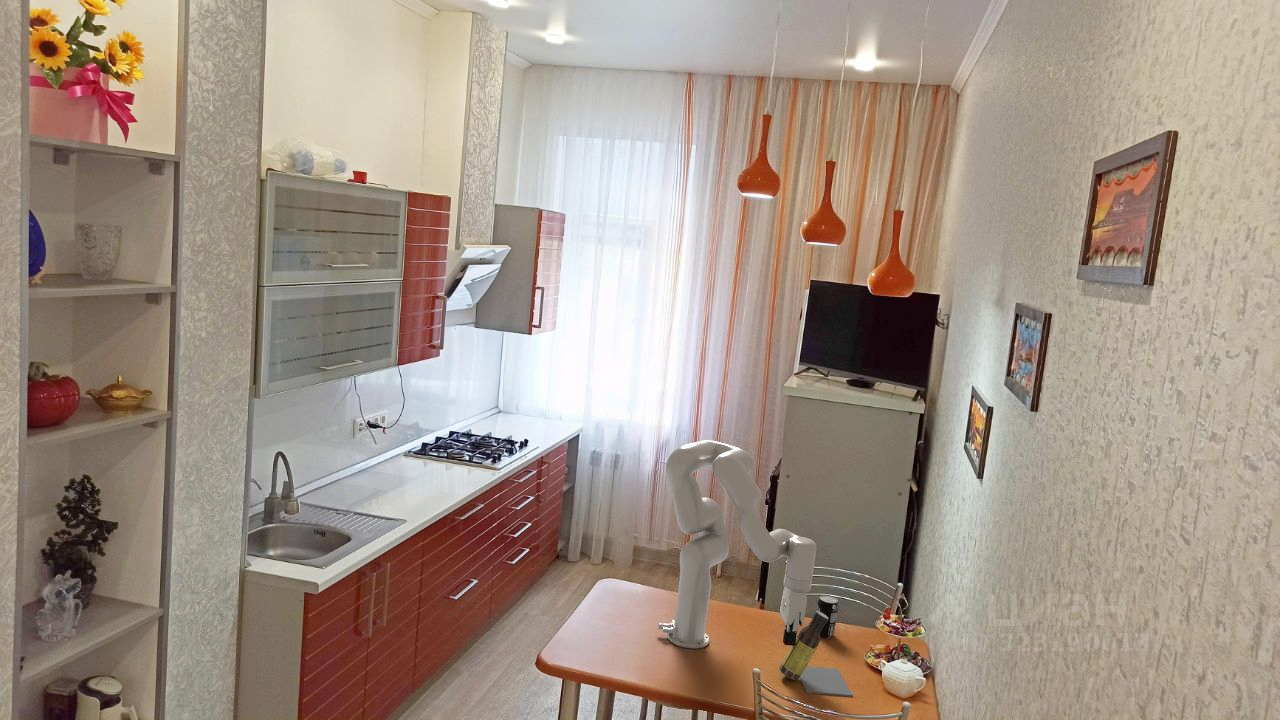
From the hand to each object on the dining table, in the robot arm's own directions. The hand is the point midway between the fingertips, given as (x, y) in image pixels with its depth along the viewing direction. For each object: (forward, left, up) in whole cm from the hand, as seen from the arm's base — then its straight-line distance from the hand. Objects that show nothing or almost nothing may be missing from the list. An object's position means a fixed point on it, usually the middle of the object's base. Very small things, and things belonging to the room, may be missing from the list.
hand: (788, 644), depth 259 cm
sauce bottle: (+1, 0, -9) cm, 9 cm away
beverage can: (+20, +32, -11) cm, 39 cm away
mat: (+11, 0, -10) cm, 15 cm away
